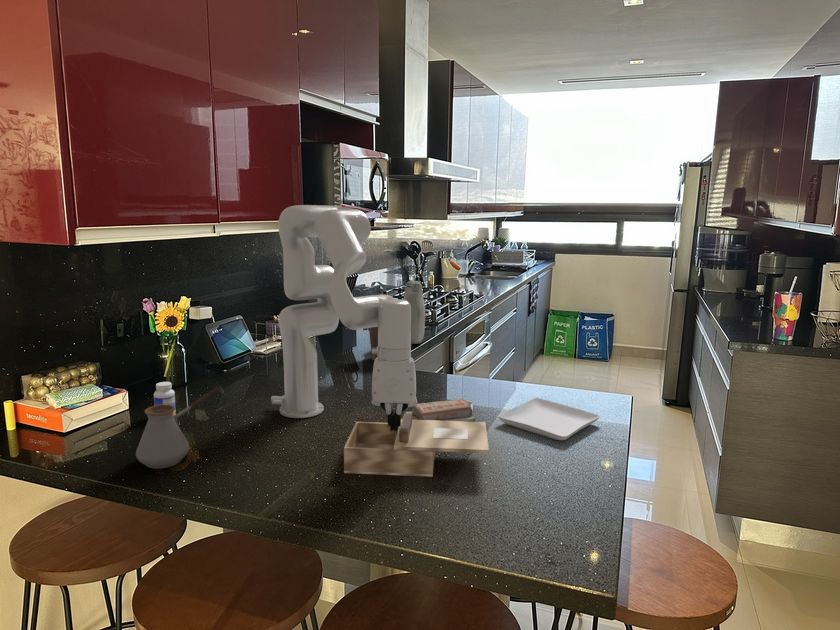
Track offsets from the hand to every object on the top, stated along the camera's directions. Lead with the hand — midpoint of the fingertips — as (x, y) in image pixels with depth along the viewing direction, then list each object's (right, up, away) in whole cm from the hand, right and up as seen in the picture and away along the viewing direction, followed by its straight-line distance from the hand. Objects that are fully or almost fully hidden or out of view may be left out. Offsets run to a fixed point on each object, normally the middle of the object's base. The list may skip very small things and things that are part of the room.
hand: (394, 428), depth 134 cm
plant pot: (-7, +9, +91) cm, 92 cm away
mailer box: (-1, -8, +2) cm, 8 cm away
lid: (+11, -2, 0) cm, 11 cm away
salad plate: (+42, -4, +25) cm, 49 cm away
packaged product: (+12, -3, +29) cm, 31 cm away
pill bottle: (-66, -2, +27) cm, 71 cm away
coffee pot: (-51, -7, +3) cm, 51 cm away
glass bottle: (+3, +14, +118) cm, 118 cm away
